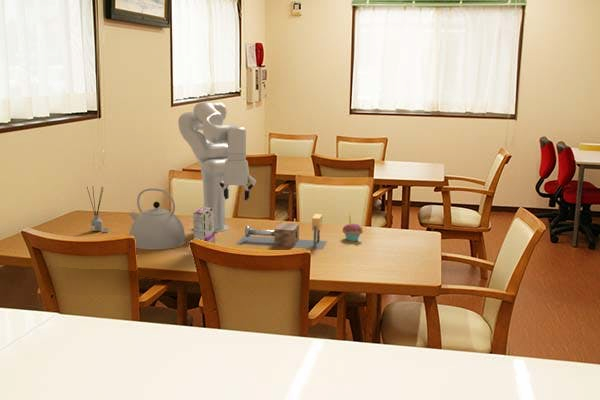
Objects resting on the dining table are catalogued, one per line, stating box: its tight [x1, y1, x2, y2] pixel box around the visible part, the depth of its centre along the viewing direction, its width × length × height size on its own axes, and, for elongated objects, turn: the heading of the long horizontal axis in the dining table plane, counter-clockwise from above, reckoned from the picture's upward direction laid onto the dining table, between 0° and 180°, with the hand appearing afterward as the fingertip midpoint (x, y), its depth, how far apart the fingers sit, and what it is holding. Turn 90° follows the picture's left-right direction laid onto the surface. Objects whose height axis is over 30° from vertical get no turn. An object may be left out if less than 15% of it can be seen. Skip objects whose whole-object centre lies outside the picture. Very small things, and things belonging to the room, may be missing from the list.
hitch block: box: [273, 222, 321, 248], centre depth 269 cm, size 17×12×9 cm
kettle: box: [128, 187, 186, 250], centre depth 268 cm, size 25×23×22 cm
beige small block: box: [311, 213, 323, 231], centre depth 267 cm, size 3×8×5 cm, turn 170°
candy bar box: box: [193, 206, 216, 244], centre depth 258 cm, size 11×5×16 cm, turn 168°
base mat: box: [235, 235, 328, 250], centre depth 271 cm, size 36×13×1 cm, turn 80°
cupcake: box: [342, 214, 364, 242], centre depth 278 cm, size 9×8×12 cm
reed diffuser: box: [86, 185, 109, 233], centre depth 284 cm, size 10×7×20 cm
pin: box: [244, 225, 274, 237], centre depth 272 cm, size 15×5×5 cm, turn 80°
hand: (236, 199), depth 271 cm, fingers open, 7 cm apart
